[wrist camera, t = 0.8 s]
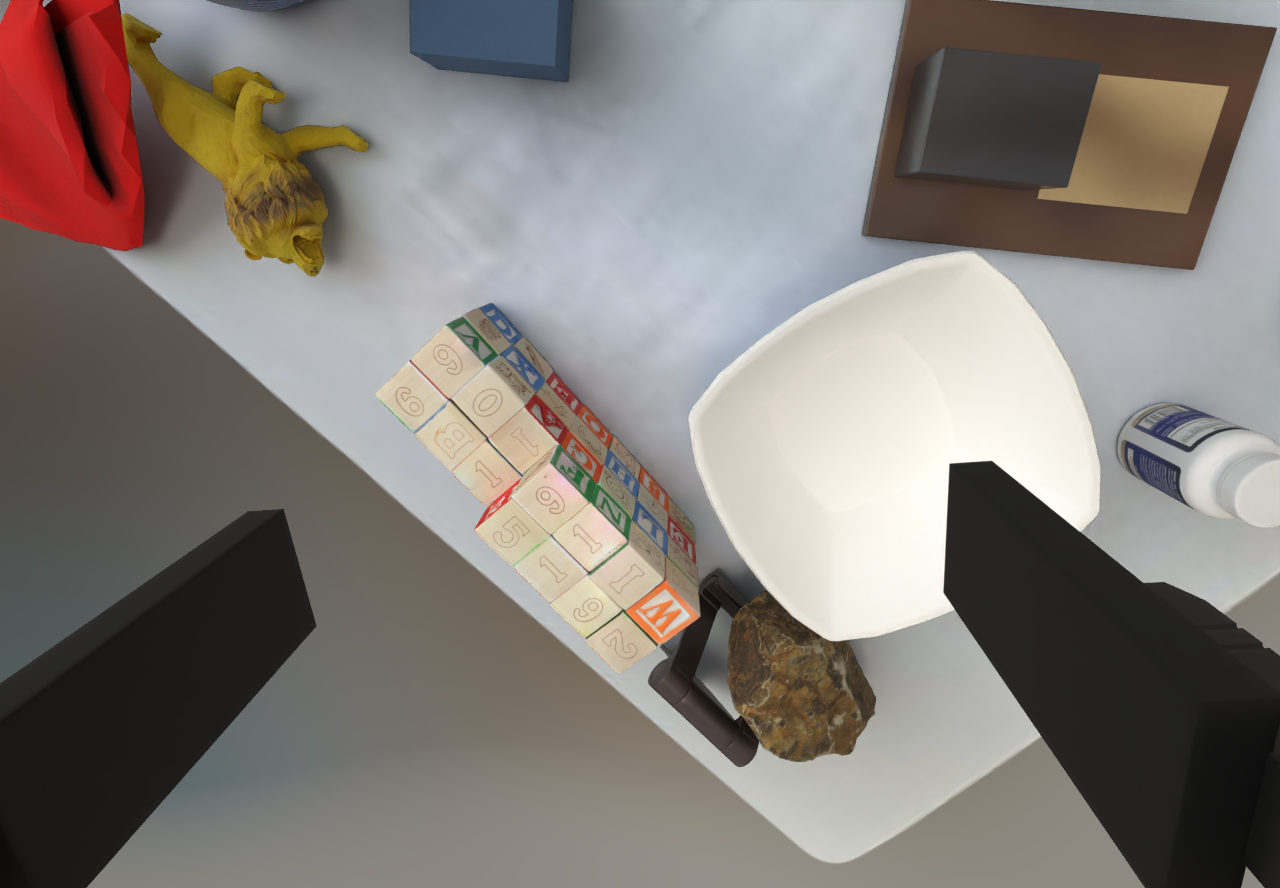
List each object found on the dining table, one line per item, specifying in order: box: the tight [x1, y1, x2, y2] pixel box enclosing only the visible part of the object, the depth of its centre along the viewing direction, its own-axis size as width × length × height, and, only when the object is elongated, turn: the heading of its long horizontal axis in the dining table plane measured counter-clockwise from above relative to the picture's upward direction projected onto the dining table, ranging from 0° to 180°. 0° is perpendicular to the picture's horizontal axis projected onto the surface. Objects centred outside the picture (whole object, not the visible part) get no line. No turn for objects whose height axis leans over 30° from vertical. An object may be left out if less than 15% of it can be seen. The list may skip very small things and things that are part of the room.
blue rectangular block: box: [410, 0, 573, 82], centre depth 39 cm, size 6×8×4 cm
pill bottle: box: [1117, 403, 1280, 528], centre depth 42 cm, size 5×5×10 cm
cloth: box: [0, 0, 145, 251], centre depth 41 cm, size 26×14×2 cm, turn 102°
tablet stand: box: [648, 572, 759, 767], centre depth 49 cm, size 9×8×8 cm
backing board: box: [862, 0, 1277, 270], centre depth 39 cm, size 13×20×6 cm, turn 84°
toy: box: [121, 14, 368, 277], centre depth 42 cm, size 6×19×10 cm
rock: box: [728, 591, 876, 762], centre depth 47 cm, size 14×6×10 cm
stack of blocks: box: [375, 303, 700, 674], centre depth 43 cm, size 21×6×12 cm, turn 41°
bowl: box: [688, 251, 1100, 641], centre depth 43 cm, size 21×21×9 cm
